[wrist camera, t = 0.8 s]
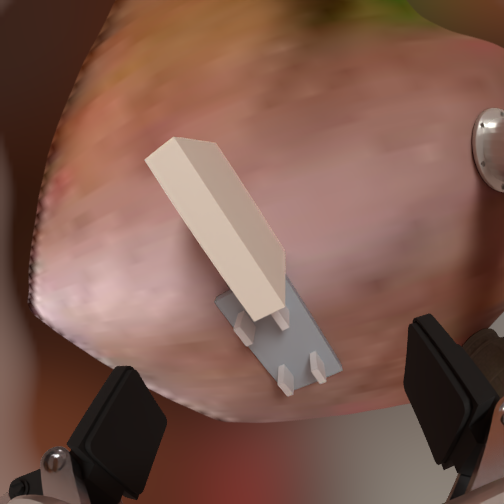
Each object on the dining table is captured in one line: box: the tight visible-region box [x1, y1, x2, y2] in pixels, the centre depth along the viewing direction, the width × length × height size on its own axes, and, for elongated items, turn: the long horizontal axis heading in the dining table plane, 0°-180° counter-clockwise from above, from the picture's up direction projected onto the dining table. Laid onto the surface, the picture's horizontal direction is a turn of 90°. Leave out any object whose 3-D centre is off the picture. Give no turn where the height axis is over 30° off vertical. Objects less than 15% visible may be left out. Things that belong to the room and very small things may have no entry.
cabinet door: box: [145, 137, 285, 322], centre depth 28 cm, size 4×16×14 cm, turn 32°
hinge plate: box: [214, 273, 343, 396], centre depth 38 cm, size 10×20×6 cm, turn 32°
